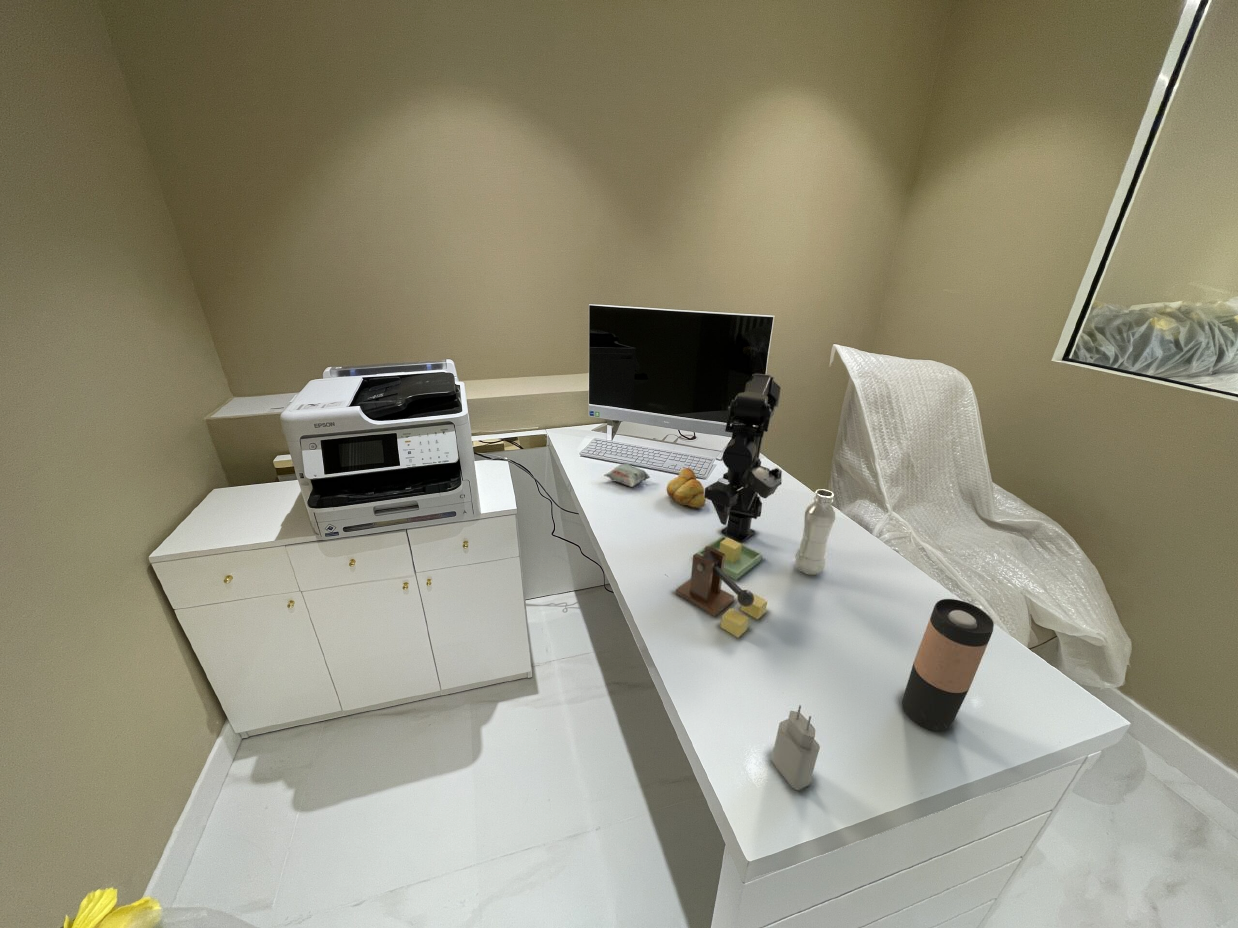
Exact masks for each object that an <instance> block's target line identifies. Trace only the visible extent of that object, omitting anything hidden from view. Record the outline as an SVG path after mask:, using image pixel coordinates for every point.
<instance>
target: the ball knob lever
mask: <svg viewBox="0 0 1238 928" xmlns="http://www.w3.org/2000/svg"><path fill="white" fill-rule="evenodd" d="M703 557H705V558H707V559H709V560H711V561H712V562H714V567H713V572H714V573H715V574H716V575H717V576H718V577H719V578H720V579H721V580H722V583H724V584H725V585H727V587H729V589H731V590H732V592H733V593H735V595H737V596H736V597H737V602H738V604H739V605H740V606H741V605H742V606H744V607H748V606H751V605H752V604H753V602H754V595H753V594H754V593H753V592H752V591H750V590H748V589H742V588H741V586H739V585H738V584H737V583H736V582H735V581H734V579H733V578H731V577H729V576H727V575H726V574H725V573H724V572H723V571H722V570H721V569H720V568H719V567H718V566H717V563H718V562H719V561H718V560H717V559H716V558H715V557H714V556H713V555H712V554H711V553H710V552H708V553H706V554H705V555H703ZM752 593H753V594H752Z"/></svg>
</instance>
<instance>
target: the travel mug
mask: <svg viewBox="0 0 1238 928" xmlns="http://www.w3.org/2000/svg"><path fill="white" fill-rule="evenodd" d="M994 626H995V623H994V619H992V617H991V616H990V615H989V614H988V613H986V611H984V610H982V609H981V608H980V607H977V606H976V605H974V604H971V603H970V602H966V601H964V600H959V599H955V598H943V599H940V600H938V601H936V603H935V605H934V606H933V608H932V612H931V614H930V617H929V620H928V623H927V625H926V627H925V631H924V633H923V637H922V639H921V641H920V643H919V647H918V649H917V652H916V654H915V658H914V660H913V664H912V667H911V670H910V673H909V677H908V679H907V683H906V686H905V690H904V693H903V697H902V701H901V703H902V709H903V711H904V713H905V714H906V715H907V717H908V718H909V719H910V720H912V722H913V723H915V724H916V725H918V726H920V727H922V728H924V729H926V730H929V731H932V732H945V731H947V730H948V729H950V728H951V727H952V725H953V723H954V721H955V719H956V717H957V715H958V713H959V711H960V709H961V707H962V705H963V703H964V701H965V699H966V697H967V695H968V692H969V690H970V688H971V686H972V684H973V682H974V678H975V676H976V674H977V671H978V668H979V667H980V664H981V662H982V659H983V657H984V654H985V652H986V650H987V648H988V645H989V642H990V641H991V637H992V635H993V633H994Z"/></svg>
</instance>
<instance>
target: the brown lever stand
mask: <svg viewBox="0 0 1238 928" xmlns="http://www.w3.org/2000/svg"><path fill="white" fill-rule="evenodd" d="M704 548H705V551H704V555H705V554H706V553H708V552H710V553H711V554H712V555H713V556H714V557H715V558H716V559H717V560H718V561H719V562H718V563H717V566H718V567H719V568H720V569H721V570H722V571H723V568H724V561H725V554H724V553H722V552H720V551H718V550H716V549H714V548H712V547H709V546H708V545H705V546H704ZM697 553H698V552H696V553H694V554H693V556H692V564H691V573H690V579H688V580H687V581H686V582H684V583H683V584H681V585H679V586H678V587H677V588H676V589H675V595H677V596H678V597H680V598H682V599H684V600H685V601H687V602H689V603H691V604H692V605H694V606H696V607H697V608H699V609H701V610H703V611H704V612H706V613H708V614H709V615H711V616H712V617H716V616H718V615H719V614H720V613H721V612H722V611H723V610H725V609H726V608H728V606H729V605H731V604H732V603H733V602H734V600H735V595H733V594H731V593H729V592H727V591H725V590H723V589H722V583H723V581H722V580H721V579H720V578H719V577H718V576H717V575H716V574H715V573H714V572H713V567H714V562H712V561H711V560H709V559H707V558H705V557H703V556H701V555H699V554H697Z"/></svg>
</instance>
